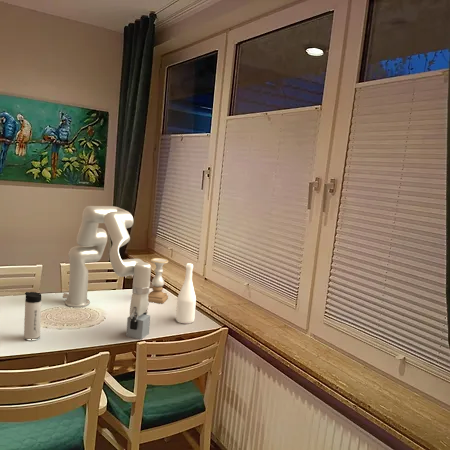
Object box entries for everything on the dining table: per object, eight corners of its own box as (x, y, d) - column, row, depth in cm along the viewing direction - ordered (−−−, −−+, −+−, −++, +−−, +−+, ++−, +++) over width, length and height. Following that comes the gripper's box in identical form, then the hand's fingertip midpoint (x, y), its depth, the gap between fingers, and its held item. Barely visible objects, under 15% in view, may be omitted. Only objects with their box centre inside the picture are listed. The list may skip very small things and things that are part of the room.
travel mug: (26, 334, 188) (27, 290, 185) (41, 335, 188) (43, 291, 186) (20, 340, 182) (22, 294, 179) (36, 341, 182) (38, 295, 180)
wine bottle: (186, 316, 230) (191, 261, 226) (197, 322, 223) (203, 265, 219) (171, 319, 223) (176, 262, 219) (183, 325, 217) (188, 267, 213)
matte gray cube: (126, 336, 197) (127, 317, 195) (133, 330, 204) (135, 312, 203) (141, 339, 195) (143, 320, 194) (148, 333, 202) (150, 315, 201)
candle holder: (150, 296, 259) (153, 256, 255) (168, 298, 257) (171, 259, 254) (144, 301, 248) (147, 260, 245) (163, 303, 246) (166, 263, 243)
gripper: (141, 283, 206) (139, 318, 208) (124, 293, 189) (121, 330, 191) (156, 286, 204) (153, 321, 206) (140, 296, 187) (137, 333, 190)
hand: (138, 325), depth 199 cm, fingers open, 9 cm apart
